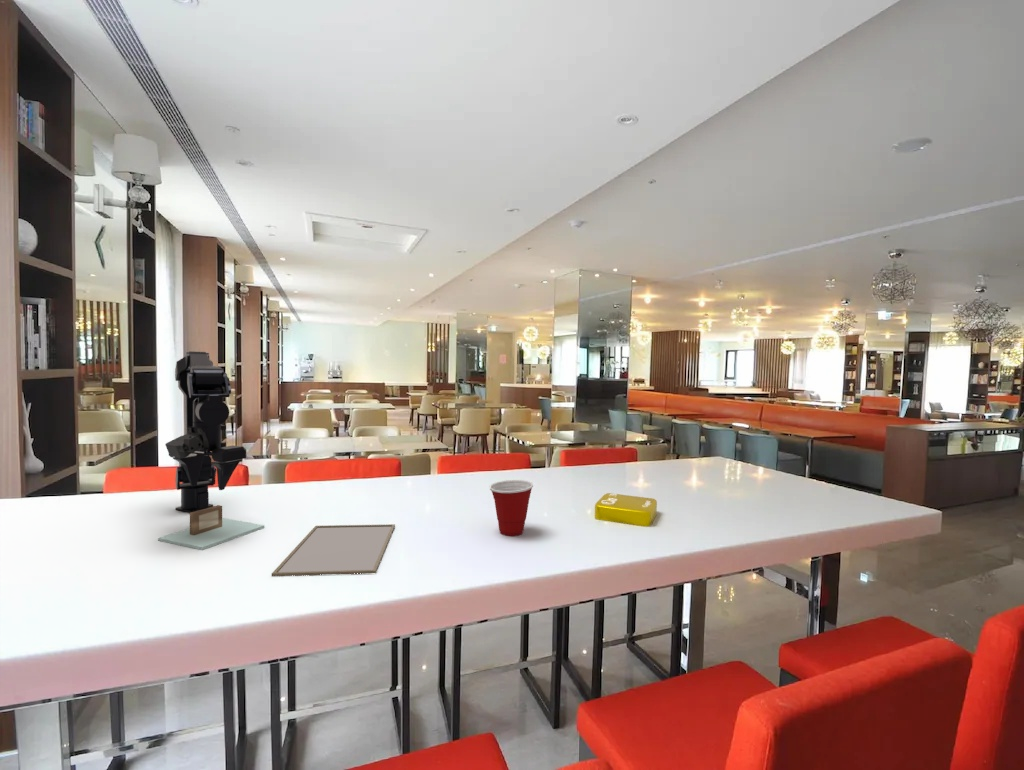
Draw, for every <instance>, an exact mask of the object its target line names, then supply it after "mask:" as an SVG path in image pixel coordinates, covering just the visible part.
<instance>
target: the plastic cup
mask: <svg viewBox="0 0 1024 770" xmlns="http://www.w3.org/2000/svg"><path fill="white" fill-rule="evenodd" d="M533 487H534V483H533V482H531V481H529V480H522V479H510V480H509V479H508V480H507V479H505V480H501V481H497V482H494V483H491V484H490V485H489V490H490V491H491V493H492V496H493V500H494V506H495V511H496V512H495V513H496V519H497V522H498V523H497V524H498V531H499V533H500V534H501V535H503V536H508V537H517V536H520V535H522V534H523V533H524V529H525V523H526V520H527V514H528V509H529V503H530V498H531V493H532V489H533Z"/></svg>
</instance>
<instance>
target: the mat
mask: <svg viewBox="0 0 1024 770" xmlns="http://www.w3.org/2000/svg"><path fill="white" fill-rule="evenodd" d="M262 529H265V524H259V523H253V522H247V521H243V520H236V519H230V518H226V517H222V527H219V528H216V529H213V530H210V531H206V532H203V533H200V534H197V535H190V527H188V528H186V529H183V530H179V531H177V532H173V533H169V534H166V535H163V536H159V537H157V541H159V542H164V543H167V544H172V545H178V546H182V547H186V548H189V549H190V548H192V549H196V550H201V551H203V550H206V549H209V548H212V547H215V546H217V545H220V544H223V543H225V542H228V541H232V540H234V539H237V538H239V537H243V536H245V535H248V534H251V533H254V532H257V531H260V530H262Z"/></svg>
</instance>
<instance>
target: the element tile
mask: <svg viewBox="0 0 1024 770" xmlns="http://www.w3.org/2000/svg"><path fill="white" fill-rule="evenodd" d="M657 505H658V501H657V499H655V498H651V497H650V498H649V497H644V496H635V495H626V494H618V493H613V492H611V493H609V492H607V493H604V494H603V495H602V496H601V497H600V499H599V500H597V501H596V503H595V504H594V519H595V520H598V521H602V522H609V523H615V524H616V523H617V524H623V525H630V526H636V527H645V528H647V527H651V526H652V525H653V522H654V521H655V518H656V517H657V510H658V508H657V507H658V506H657Z"/></svg>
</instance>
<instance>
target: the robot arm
mask: <svg viewBox="0 0 1024 770" xmlns="http://www.w3.org/2000/svg"><path fill="white" fill-rule="evenodd" d="M174 378H175V379H174V380H175V382H177V387H178V389H179V390H180V391H181V393H182V395H183V396H184V400H185V402H184V403H185V404H184V406H185V407H184V408H185V410H184V411H185V434H183V435H180V436H179V437H176V438H174V439H172V440H170V441H167V442H166V443H165V447H166V449H167V453H168V456H169V457H170V458H172V460H175V461H176V462H178V463H179V464H178V466H176V470H175V471H176V472H175V478H174V479H175V481H174V482H175V489H176V490H177V491H180V490H181V491H180V503H181V504H180V506H178V507H175V510H176V511H181V512H187V513H191V512H195V511H198V510H202V509H206V508H209V507H213V506H214V504H212V503H209V499H210V498H209V497H210V495H209V494H210V493H209V487H210V486H214V485H216V479H217V486H218V487H217V488H218V491H222V490H225V488H226V487H227V485H228V483H229V480H230V479H231V477H232V475H233V473H234V472H235V470H236V468H237V466H239V464H240V463H242V462H243V460H244V459H247V449H246V447H244V446H241V445H227V442H224V441H223V438H222V437H223V436H222V435H223V433H222V432H223V431H224V430H225V431H226V430H227V425H225V424H223V423H225V422H226V421H227V420H228V418H229V416H230V409H229V407H228V405H227V404H226V403H225V402H224V401H223V398H230V395H231V394H232V386H231V385H232V384H231V381H230V378H229V376H228V374H227V372H225V371H224V369H223V368H222V367H221V366H215V365H214V363H213V361H212V360H211V359H210V353H209V352H206V351H194V350H193V351H188V352H187V351H186V352H185V356H183V357H182V358H180V359H179V360H177V361H176V363H175V371H174ZM222 430H223V431H222ZM212 460H213V461H212Z"/></svg>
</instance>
